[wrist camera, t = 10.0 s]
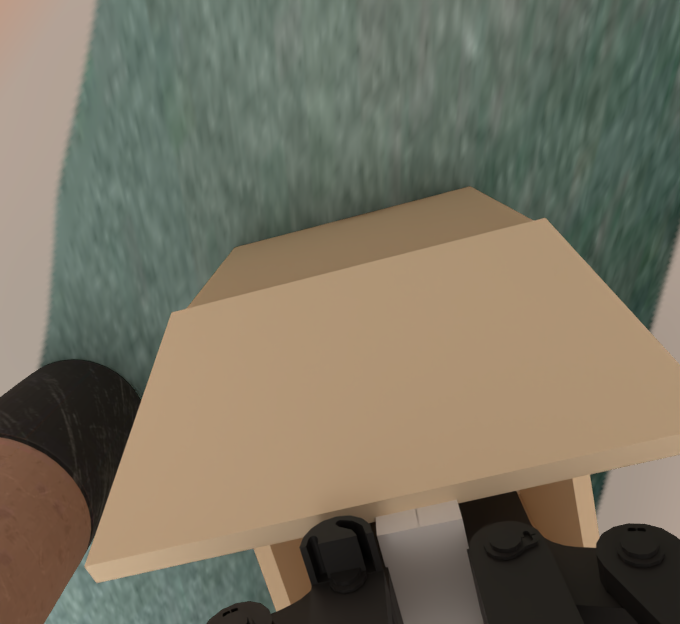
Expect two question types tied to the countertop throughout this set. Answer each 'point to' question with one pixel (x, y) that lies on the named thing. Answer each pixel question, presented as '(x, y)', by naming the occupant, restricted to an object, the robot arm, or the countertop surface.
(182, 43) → the countertop surface
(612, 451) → the flap
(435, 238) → the carton
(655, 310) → the countertop surface
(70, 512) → the travel mug
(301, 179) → the countertop surface
